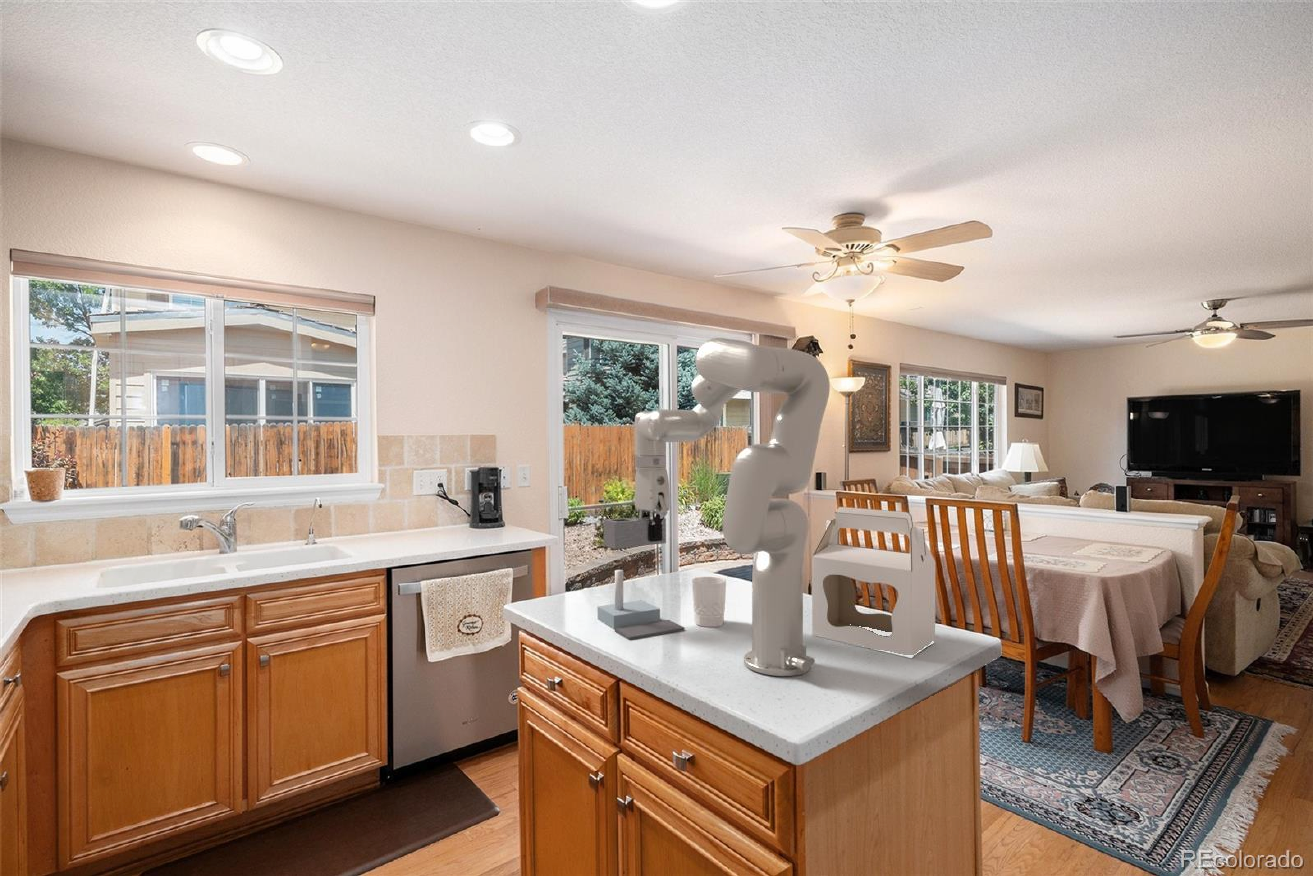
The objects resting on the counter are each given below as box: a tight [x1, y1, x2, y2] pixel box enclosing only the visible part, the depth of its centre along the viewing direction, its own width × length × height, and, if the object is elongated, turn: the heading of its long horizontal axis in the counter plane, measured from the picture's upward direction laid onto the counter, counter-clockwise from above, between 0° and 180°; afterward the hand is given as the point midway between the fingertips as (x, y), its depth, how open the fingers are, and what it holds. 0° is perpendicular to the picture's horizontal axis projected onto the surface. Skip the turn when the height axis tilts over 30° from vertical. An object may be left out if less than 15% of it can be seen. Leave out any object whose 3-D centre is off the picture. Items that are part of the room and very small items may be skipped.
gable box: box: [811, 506, 936, 655], centre depth 136 cm, size 22×13×28 cm, turn 47°
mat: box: [614, 619, 686, 641], centre depth 142 cm, size 7×14×1 cm, turn 119°
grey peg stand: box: [597, 569, 661, 630], centre depth 150 cm, size 12×9×12 cm
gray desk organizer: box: [603, 517, 667, 550], centre depth 150 cm, size 14×6×6 cm, turn 119°
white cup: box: [691, 576, 727, 628], centre depth 148 cm, size 8×8×10 cm
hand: (650, 539), depth 152 cm, fingers closed on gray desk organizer, 4 cm apart
